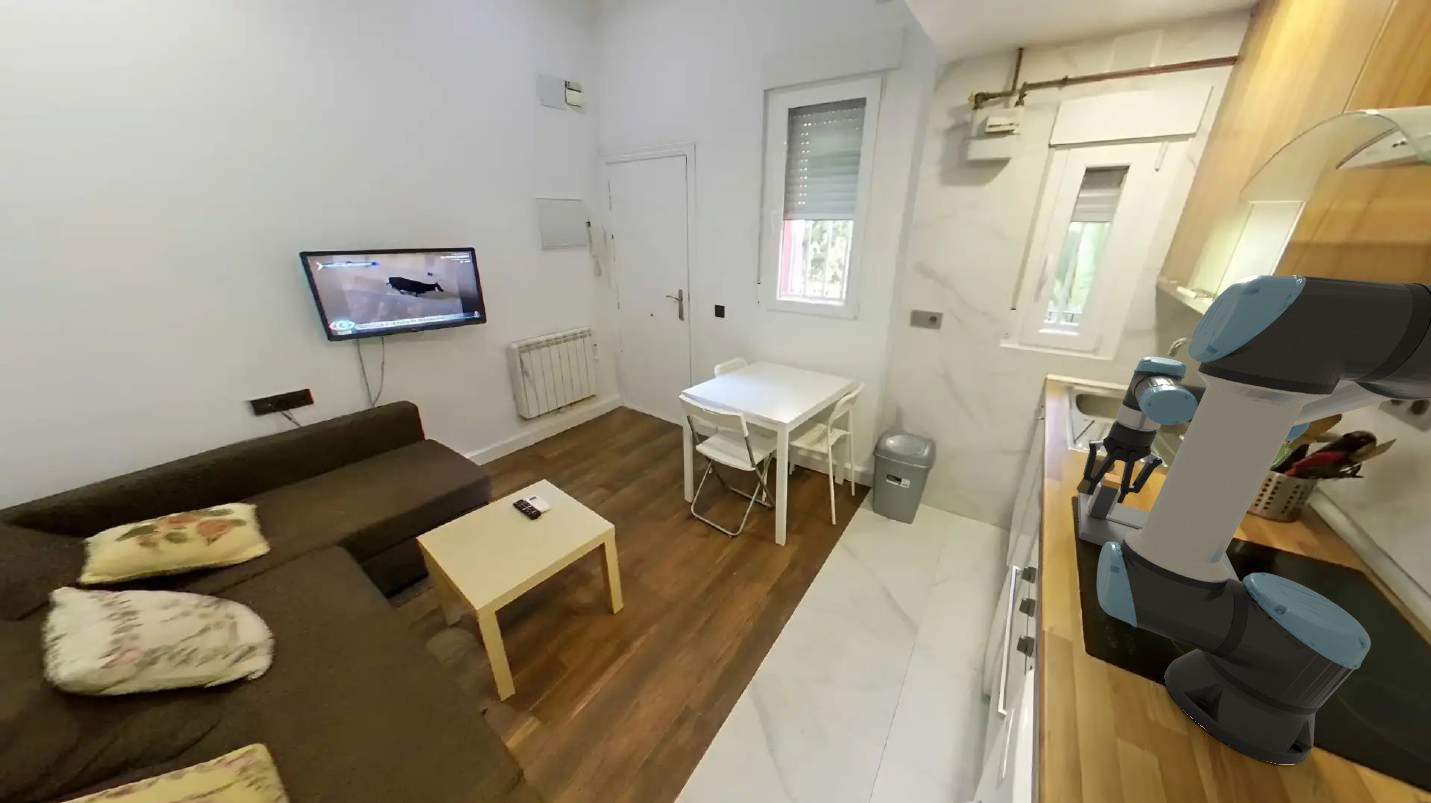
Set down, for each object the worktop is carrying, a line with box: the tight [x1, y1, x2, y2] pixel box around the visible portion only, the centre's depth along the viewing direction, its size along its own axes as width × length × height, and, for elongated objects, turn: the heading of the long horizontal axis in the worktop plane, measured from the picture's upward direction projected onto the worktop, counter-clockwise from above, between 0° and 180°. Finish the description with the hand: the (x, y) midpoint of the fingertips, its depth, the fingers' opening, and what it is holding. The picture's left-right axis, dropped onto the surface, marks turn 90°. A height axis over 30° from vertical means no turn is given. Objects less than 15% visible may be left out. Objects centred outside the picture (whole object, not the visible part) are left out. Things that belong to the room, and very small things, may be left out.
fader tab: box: [1089, 472, 1122, 520], centre depth 108 cm, size 4×3×11 cm
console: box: [1077, 492, 1240, 581], centre depth 106 cm, size 20×26×2 cm
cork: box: [1076, 455, 1116, 495], centre depth 121 cm, size 6×6×11 cm
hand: (1098, 508), depth 110 cm, fingers closed on fader tab, 3 cm apart
